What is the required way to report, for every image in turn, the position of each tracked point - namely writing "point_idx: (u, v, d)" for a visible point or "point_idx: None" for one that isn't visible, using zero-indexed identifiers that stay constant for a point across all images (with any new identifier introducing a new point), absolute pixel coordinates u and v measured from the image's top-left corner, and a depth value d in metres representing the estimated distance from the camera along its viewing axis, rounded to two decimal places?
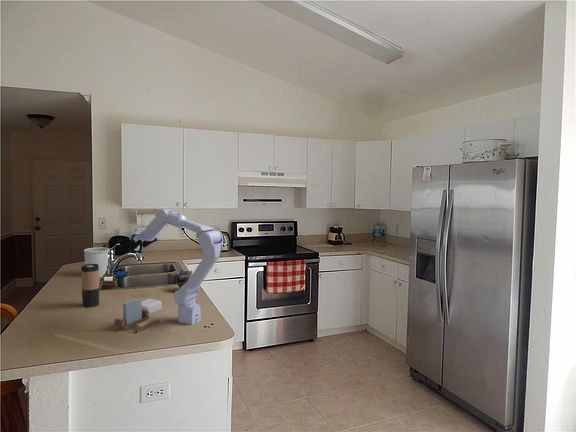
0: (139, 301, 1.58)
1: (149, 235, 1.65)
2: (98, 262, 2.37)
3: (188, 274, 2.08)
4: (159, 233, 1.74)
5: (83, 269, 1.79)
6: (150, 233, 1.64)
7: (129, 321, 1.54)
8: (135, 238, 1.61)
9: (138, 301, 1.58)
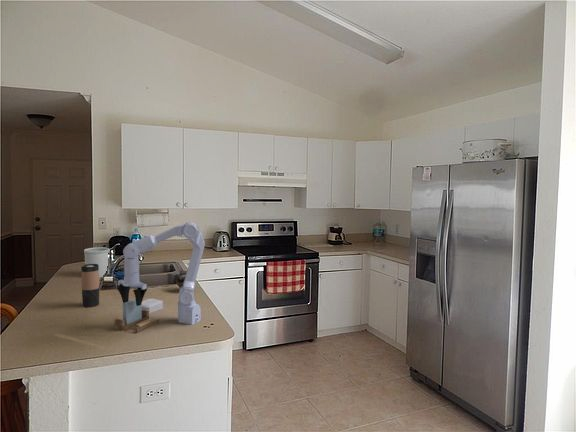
0: None
1: None
2: (98, 262, 2.37)
3: None
4: (120, 280, 1.59)
5: (83, 269, 1.79)
6: (138, 274, 1.55)
7: (129, 321, 1.54)
8: (144, 286, 1.52)
9: None
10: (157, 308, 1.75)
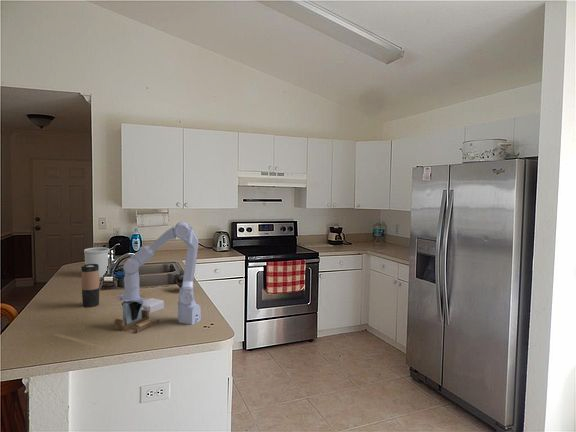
0: None
1: None
2: (98, 262, 2.37)
3: None
4: None
5: (83, 269, 1.79)
6: None
7: (129, 321, 1.54)
8: (145, 301, 1.53)
9: None
10: (158, 308, 1.76)
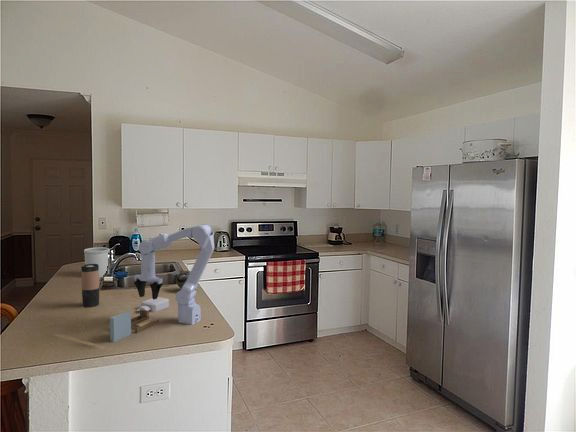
0: (128, 315, 1.45)
1: (154, 272, 1.63)
2: (98, 262, 2.37)
3: (188, 274, 2.08)
4: (136, 275, 1.66)
5: (83, 269, 1.79)
6: (154, 269, 1.62)
7: (117, 337, 1.40)
8: (160, 280, 1.59)
9: (127, 315, 1.44)
10: (163, 306, 1.78)
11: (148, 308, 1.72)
